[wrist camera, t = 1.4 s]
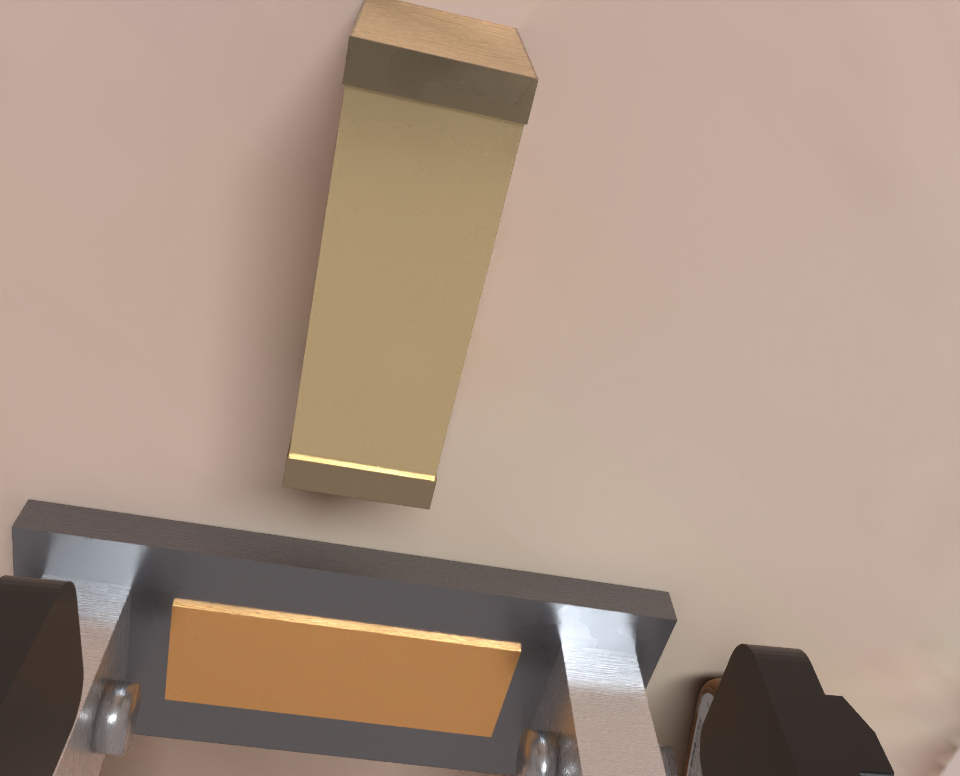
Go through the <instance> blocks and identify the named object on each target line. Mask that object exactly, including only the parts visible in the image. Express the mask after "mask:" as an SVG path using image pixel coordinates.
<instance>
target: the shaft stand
mask: <svg viewBox="0 0 960 776" xmlns="http://www.w3.org/2000/svg"><path fill="white" fill-rule="evenodd" d="M12 540H13V567H14V576H18V577H29V578H40V579H51V580H62V581H71V582H73V583H74V585H75V588H76V593H77V603H78V613H79V624H80V635H81V646H82V657H83V668H84V680H83V689H82V696H81V701H80V705H79V710H78V713H77V717H76V720H75V723H74V725H73V728H72V730H71V733H70V735H69V738H68V740H67V742H66V745H65V747H64V749H63V752H62V754H61V757H60V759H59V761H58V764H57V766H56V769H55V771H54V773H53V776H99V773H100V770H101V767H102V765H103V762H104V759H105V756H106V755H115V756H124V755H125V754H126V752H127V750H128V748H129V745H130V742H131V739H132V736H133V734H139V735H148V736H157V737H166V738H175V739H184V740H193V741H202V742H211V743H220V744H229V745H239V746H248V747H257V748H266V749H275V750H284V751H293V752H302V753H311V754H320V755H330V756H339V757H348V758H357V759H366V760H375V761H384V762H393V763H402V764H411V765H421V766H430V767H439V768H448V769H457V770H466V771H475V772H484V773H493V774H502V775H511V776H678V770H677V763H676V758H675V755H674V752H673V750H672V749H671V747H669V746H668V745H662V744H658V741H657V737H656V733H655V729H654V725H653V721H652V717H651V713H650V709H649V705H648V701H647V697H646V692H645V689H646V687H647V684H648V682H649V680H650V678H651V676H652V674H653V671H654V669H655V667H656V665H657V663H658V661H659V658H660V656H661V654H662V652H663V650H664V648H665V645H666V643H667V641H668V639H669V637H670V635H671V632H672V630H673V628H674V626H675V624H676V622H677V618H676V615H675V612H674V608H673V605H672V602H671V599H670V596H669V592H663V591H656V590H649V589H642V588H635V587H628V586H621V585H614V584H608V583H601V582H594V581H587V580H580V579H573V578H566V577H559V576H552V575H545V574H539V573H532V572H525V571H518V570H511V569H504V568H497V567H490V566H483V565H477V564H470V563H463V562H456V561H449V560H442V559H435V558H428V557H421V556H414V555H408V554H401V553H394V552H387V551H380V550H373V549H366V548H359V547H352V546H346V545H339V544H332V543H325V542H318V541H311V540H304V539H297V538H290V537H283V536H277V535H270V534H263V533H256V532H249V531H242V530H235V529H228V528H221V527H215V526H208V525H201V524H194V523H187V522H180V521H173V520H166V519H159V518H152V517H146V516H139V515H132V514H125V513H118V512H111V511H104V510H97V509H90V508H84V507H77V506H70V505H63V504H56V503H49V502H42V501H35V500H28V502H27V503H26V505H25V506H24V508H23V510H22V511H21V513H20V515H19V516H18V518H17V520H16V521H15V523H14V524H13V526H12Z"/></svg>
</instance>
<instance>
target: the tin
mask: <svg viewBox="0 0 960 776" xmlns="http://www.w3.org/2000/svg"><path fill="white" fill-rule="evenodd" d="M721 679H722V678H716V679H712V680H709V681H707V682H706V683H705V684H704V686H703V687H702V689H701V691H700V693H699V696H698V700H697V705H696V710H695V715H694V720H693V725H692V730H691V735H690V740H689V745H688V751H687V756H686V762H685V767H684V773H683V776H703V775H702V770H701V764H700V736H701V730H702V726H703V723H704V720H705V717H706V715H707V713H708V710H709V708H710V705H711V703H712V701H713V698H714V696H715V693H716V691H717V689H718V686H719V684H720V681H721Z"/></svg>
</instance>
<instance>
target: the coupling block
mask: <svg viewBox="0 0 960 776" xmlns="http://www.w3.org/2000/svg"><path fill="white" fill-rule="evenodd" d="M537 83H538V77H537V75H536V72H535V70H534V68H533V65H532V63H531V61H530V58H529V56H528V54H527V51H526V49H525V47H524V44H523V42H522V40H521V38H520V35H519V33H518V31H517V29H516V28H512V27H508V26H503V25H499V24H495V23H491V22H487V21H482V20H478V19H474V18H470V17H466V16H461V15H457V14H453V13H449V12H444V11H440V10H436V9H432V8H428V7H423V6H419V5H415V4H411V3H407V2H402V1H398V0H365V1H364V3H363V6H362V8H361V10H360V13H359V15H358V17H357V20H356V22H355V24H354V27H353V29H352V32H351V34H350V37H349V44H348V50H347V57H346V64H345V70H344V77H343V84H345V88H344V95H343V101H342V108H341V115H340V121H339V128H338V135H337V141H336V148H335V154H334V161H333V168H332V174H331V181H330V188H329V194H328V201H327V208H326V214H325V221H324V228H323V234H322V241H321V247H320V254H319V261H318V267H317V274H316V281H315V287H314V294H313V301H312V307H311V314H310V321H309V327H308V334H307V340H306V347H305V354H304V360H303V367H302V374H301V380H300V387H299V394H298V400H297V407H296V414H295V420H294V427H293V433H292V438H291V442H290V446H289V450H288V455H287V459H286V466H285V473H284V479H283V486H282V487H286V488H292V489H299V490H306V491H312V492H319V493H325V494H332V495H338V496H345V497H351V498H358V499H364V500H371V501H377V502H384V503H390V504H397V505H404V506H410V507H417V508H423V509H430V505H431V501H432V497H433V493H434V489H435V485H436V472H437V468H438V464H439V460H440V456H441V452H442V448H443V444H444V440H445V436H446V432H447V428H448V424H449V420H450V416H451V412H452V408H453V404H454V400H455V396H456V392H457V388H458V384H459V380H460V376H461V373H462V369H463V365H464V361H465V357H466V353H467V349H468V345H469V341H470V337H471V333H472V329H473V325H474V321H475V317H476V313H477V309H478V305H479V301H480V297H481V293H482V289H483V285H484V281H485V277H486V273H487V269H488V265H489V261H490V257H491V254H492V250H493V246H494V242H495V238H496V234H497V230H498V226H499V222H500V218H501V214H502V210H503V206H504V202H505V198H506V194H507V190H508V186H509V182H510V178H511V174H512V170H513V166H514V162H515V158H516V154H517V150H518V146H519V142H520V138H521V134H522V131H523V127H524V124H526V125H527V123H528V119H529V115H530V111H531V107H532V103H533V99H534V95H535V91H536V87H537Z"/></svg>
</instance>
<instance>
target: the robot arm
mask: <svg viewBox="0 0 960 776" xmlns="http://www.w3.org/2000/svg"><path fill="white" fill-rule="evenodd" d="M83 680H84V668H83V657H82V646H81V635H80V624H79V613H78V603H77V593H76V588H75V585H74V583H73V582H71V581H62V580H51V579H40V578H29V577H18V576H7V575H5V576H2V577H1V578H0V776H53V773H54V771H55V769H56V766H57V764H58V761H59V759H60V757H61V754H62V752H63V749H64V747H65V745H66V742H67V740H68V738H69V735H70V733H71V730H72V728H73V725H74V723H75V720H76V717H77V713H78V710H79V705H80V701H81V696H82V689H83ZM700 764H701V770H702V775H703V776H894V771H893V769H892V767H891V765H890V763H889V761H888V759H887V757H886V755H885V752H884V750H883V748H882V746H881V744H880V742H879V740H878V738H877V736H876V734H875V732H874V731H873V730H872V729H871V728H870V727H869V725H868V724H867V723H866V722H865V721H864V720H863V719H862V718H861V717H860V715H859V714H858V713H857V712H856V711H855V710H854V709H853V708H852V706H851V705H850V704H849V703H848V702H847V701H846V700H845V699H844V698H843V696H834V695H825V694H824V691H823V689H822V687H821V684H820V682H819V680H818V678H817V675H816V673H815V671H814V669H813V666H812V664H811V662H810V660H809V658H808V657H807V655H806V654H805V653H804V652H803V651H802V650H800V649H793V648H782V647H770V646H759V645H748V644H740V645H738V646H737V647H736V648H735V650H734V651H733V653H732V655H731V657H730V660H729V662H728V665H727V667H726V669H725V672H724V674H723V677H722V679H721V681H720V684H719V686H718V689H717V691H716V693H715V696H714V698H713V701H712V703H711V705H710V708H709V710H708V713H707V715H706V717H705V720H704V723H703V726H702V730H701V736H700Z"/></svg>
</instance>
